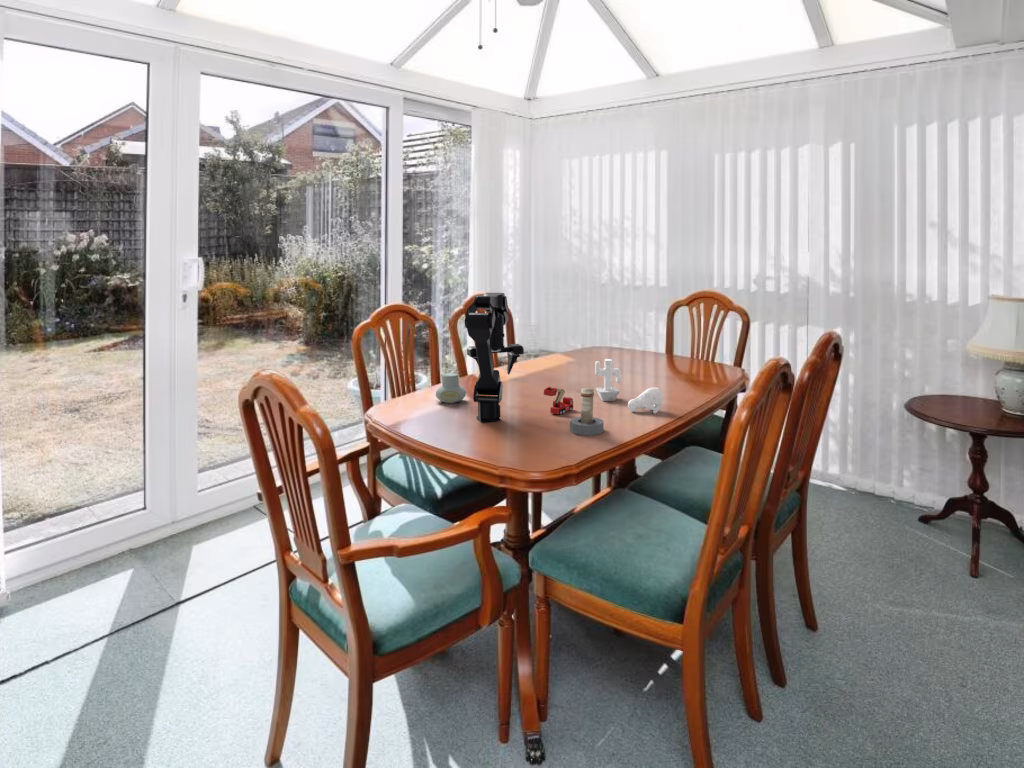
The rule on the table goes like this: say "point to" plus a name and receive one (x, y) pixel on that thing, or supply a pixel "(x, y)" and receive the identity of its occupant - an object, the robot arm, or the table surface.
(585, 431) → the grey ring
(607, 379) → the figurine
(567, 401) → the toy fire truck
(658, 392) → the white animal statue
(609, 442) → the table surface
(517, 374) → the table surface
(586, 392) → the birch peg
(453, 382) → the air freshener
